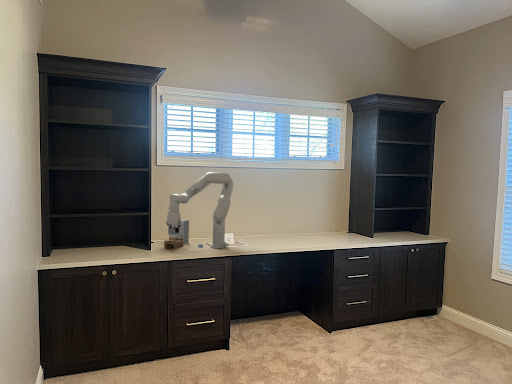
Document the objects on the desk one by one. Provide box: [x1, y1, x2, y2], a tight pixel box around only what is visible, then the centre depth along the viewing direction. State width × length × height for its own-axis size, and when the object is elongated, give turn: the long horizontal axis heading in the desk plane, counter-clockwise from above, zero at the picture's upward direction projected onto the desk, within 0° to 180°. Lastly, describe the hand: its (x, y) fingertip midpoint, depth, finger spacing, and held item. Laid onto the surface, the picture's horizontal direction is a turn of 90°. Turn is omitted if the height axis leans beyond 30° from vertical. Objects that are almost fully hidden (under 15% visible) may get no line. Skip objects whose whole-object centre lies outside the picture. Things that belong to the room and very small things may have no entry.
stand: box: [163, 238, 184, 250], centre depth 302 cm, size 10×12×6 cm
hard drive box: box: [168, 218, 190, 246], centre depth 318 cm, size 16×8×20 cm, turn 62°
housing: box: [167, 226, 180, 235], centre depth 301 cm, size 8×6×6 cm
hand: (173, 232), depth 301 cm, fingers closed on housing, 5 cm apart
